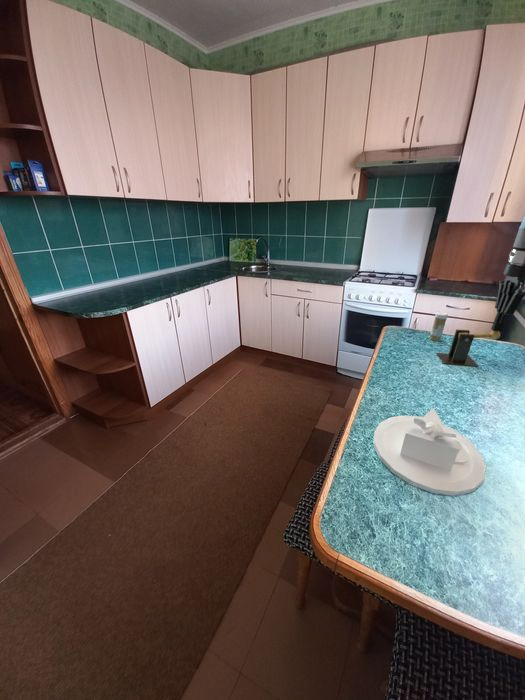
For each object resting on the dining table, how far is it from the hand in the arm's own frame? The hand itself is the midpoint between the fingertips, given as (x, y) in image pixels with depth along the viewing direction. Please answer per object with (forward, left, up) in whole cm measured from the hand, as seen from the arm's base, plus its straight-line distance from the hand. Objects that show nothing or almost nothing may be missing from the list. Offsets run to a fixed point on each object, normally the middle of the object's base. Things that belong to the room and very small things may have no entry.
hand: (496, 330), depth 105 cm
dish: (-30, +54, -15) cm, 64 cm away
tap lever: (+2, +4, -4) cm, 6 cm away
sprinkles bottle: (+23, +2, -15) cm, 27 cm away
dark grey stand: (+5, +9, -14) cm, 17 cm away
